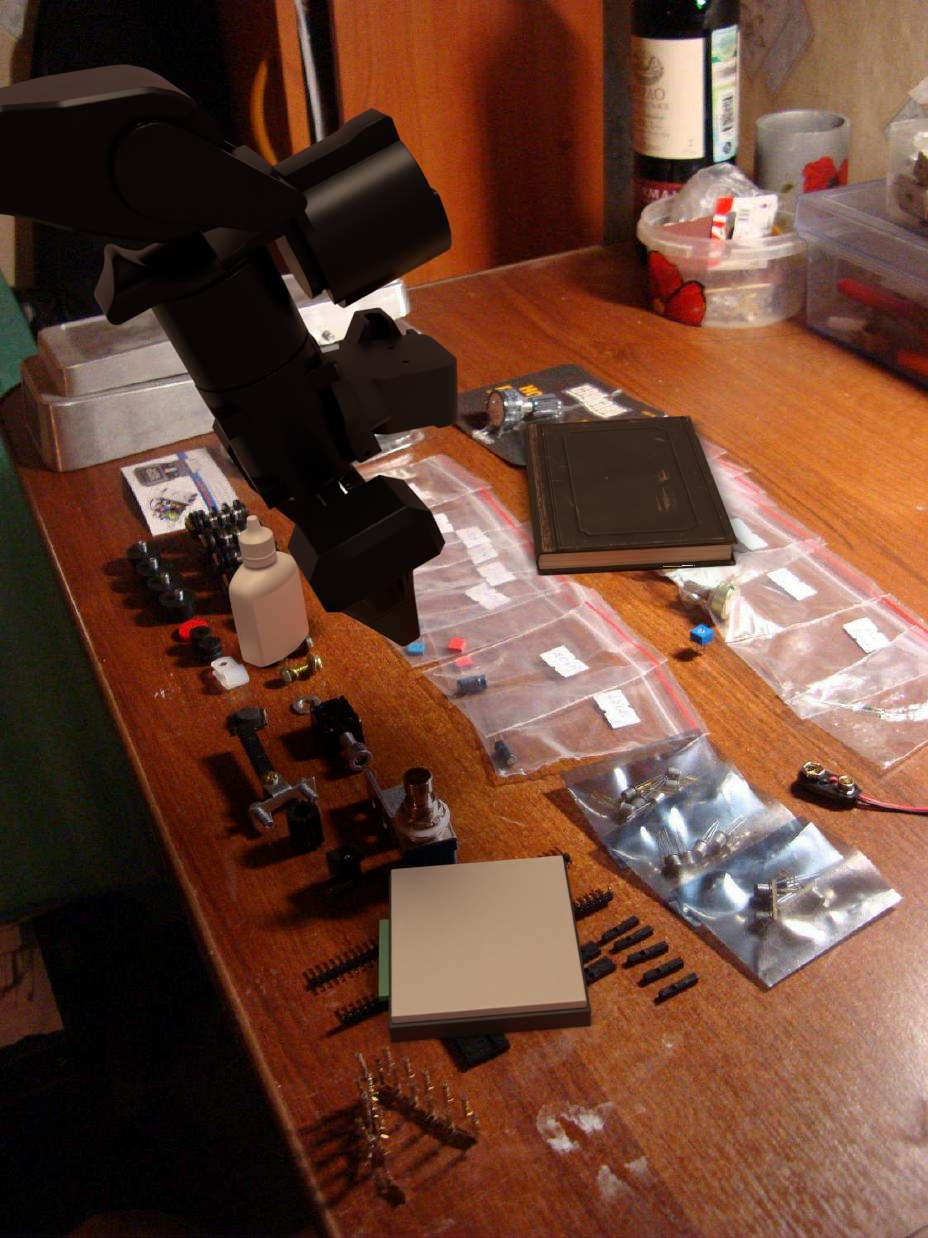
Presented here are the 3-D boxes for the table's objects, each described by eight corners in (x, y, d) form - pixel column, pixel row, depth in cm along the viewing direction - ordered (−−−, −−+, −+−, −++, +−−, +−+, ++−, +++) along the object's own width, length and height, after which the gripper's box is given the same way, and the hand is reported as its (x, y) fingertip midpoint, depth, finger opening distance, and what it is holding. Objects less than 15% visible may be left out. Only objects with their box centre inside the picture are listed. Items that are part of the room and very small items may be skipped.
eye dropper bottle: (324, 659, 85) (301, 519, 78) (253, 684, 83) (222, 543, 76) (303, 630, 89) (279, 493, 82) (233, 653, 87) (203, 516, 80)
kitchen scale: (381, 1058, 58) (375, 1021, 56) (382, 903, 66) (376, 867, 64) (590, 1040, 58) (591, 1003, 56) (566, 888, 66) (565, 852, 64)
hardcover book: (688, 436, 111) (690, 415, 110) (735, 565, 92) (737, 540, 91) (523, 446, 112) (522, 424, 110) (536, 575, 93) (536, 551, 91)
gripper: (487, 335, 46) (588, 607, 56) (337, 221, 60) (439, 454, 70) (245, 472, 45) (392, 725, 55) (150, 323, 59) (281, 546, 69)
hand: (379, 596), depth 62 cm, fingers open, 9 cm apart
